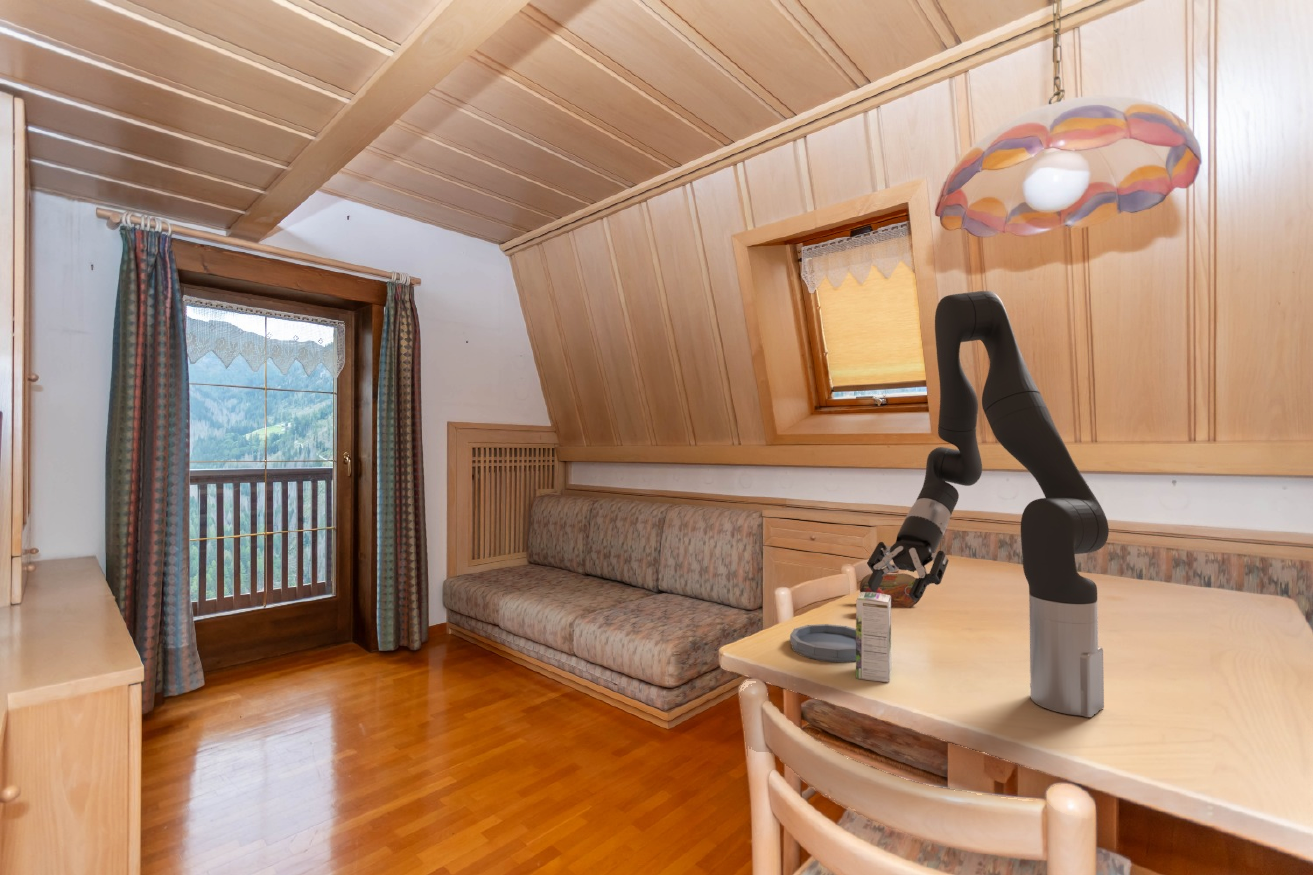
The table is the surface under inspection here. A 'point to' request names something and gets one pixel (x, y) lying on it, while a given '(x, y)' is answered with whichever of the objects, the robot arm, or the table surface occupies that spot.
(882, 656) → the juice carton
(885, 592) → the tin
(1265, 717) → the table surface
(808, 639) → the dish
